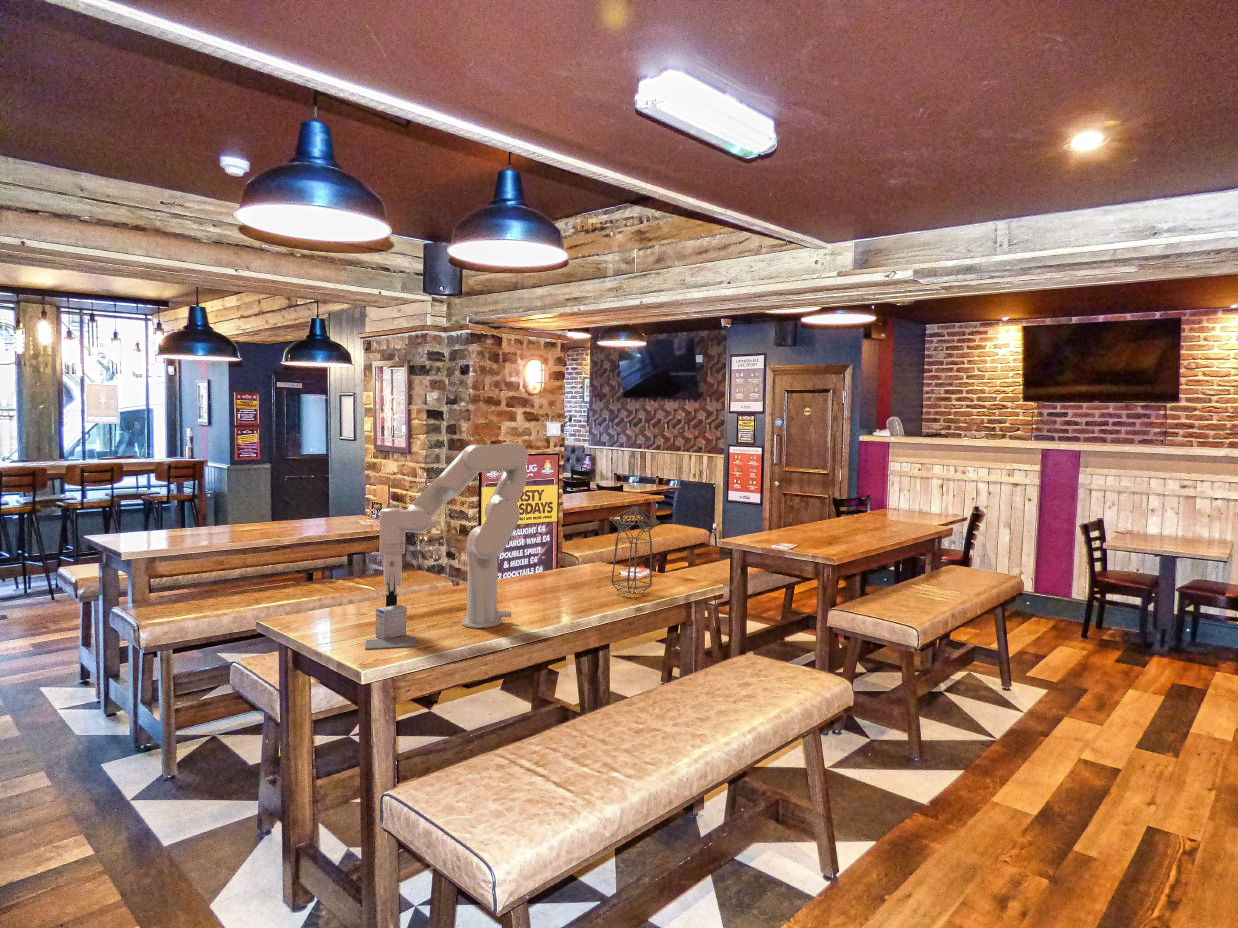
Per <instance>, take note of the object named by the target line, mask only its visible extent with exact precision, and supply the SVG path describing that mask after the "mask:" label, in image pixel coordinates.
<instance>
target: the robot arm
mask: <svg viewBox="0 0 1238 928" xmlns="http://www.w3.org/2000/svg"><path fill="white" fill-rule="evenodd" d="M528 460H529V452H528V449H527V447H525V446H524V444H522V443H520V442H515V441H506V442H503V443H496V444H470V445H469V446H466V447H465V448H464V449H463V450H461V452H460V453H458V455H457V457H455V458H454V460H453V461H452V462H451V463H450V464H449V465H448V466H447V467H446V468H445V469H444V470H443V472H441V474H439V476H438V477H436V479H434V480H433V482H432V483H431V484H430V485H429V486H428V487H427V488H426V489H424V490H423V491H422V492H421V494H420V495H418V497H417V498H416V499H414V500H413V502H412V503H411V504H410V505H409V506H408V508H407V509H403V508H400V507H387V508H383V509H381V510H380V512H379V545H378V546H379V548H378V549H379V550H378V551H379V553H378V554H379V555H383V557H382V559H383V580H384V581H383V582H384V587H386V594H385V607H389V606H394V605H398V594H397V586H398V587H401V586H402V571H403V570H402V569H403V567H402V566H403V565H402V564H403V563H402V562H403V561H402V559H403V558H402V555H403V554H406V532H409V533H416V534H417V533H424V532H426V531H427V530H429V529H430V528H431V527H432V523H433V518H432V516H433V515H434V514H435V513H436V512H437V511H438V510H439V509H440V508H441V507H442V506H443V505H444V504H446V503H447V502H449V501H451V500H453V499H455V498H457V497H458V496H459V495H460V494H462V492H463V491H464V490H465V489H466V487H468V485H470V483H471V482H472V481H473V480H474V479H475V478H476V477H477V476H478V475H479V473H490V472H492V473H493V472H501V474H500V477H499V480H498V482H497V485H496V487H495V489H494V490H493V492H492V494H491V496H490V498H489V500H488V501H487V503H486V505H485V507H484V517H485V518H486V519H485V521H484V523H483V525H477V526H476V527H474V528H472V529H471V530H470V531H469V533H468V535H467V538H466V553H467V554H466V555H467V582H466V583H467V586H466V587H467V589H466V590H467V592H466V594H467V595H466V598H467V599H466V617H464V618H462V619H461V625H463V626H464V627H466V628H475V629H485V628H487V629H488V628H494V627H498V626H499V625H501V624H502V618H512V611H511V610H508V611H507V610H500V609H499V608H498V573H499V572H498V571H499V569H498V566H499V565H498V564H499V563H498V557H499V556H500V555H501V554H502V553H503V552H504V551H505V548H506V547H507V544H508V543H509V541H510V539H511V538H512V536H513V533H514V531H515V529H516V527H517V525H518V523H519V520H520V514H521V511H520V507H519V506H518V503H519V501H520V499H521V497H522V494H523V493H524V490H525V487H526V484H527V480H528V470H527V469H528V468H527V465H526V464H527V463H528Z"/></svg>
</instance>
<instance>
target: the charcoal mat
mask: <svg viewBox="0 0 1238 928" xmlns="http://www.w3.org/2000/svg"><path fill="white" fill-rule="evenodd" d="M403 647H404V648H415V647H418V644H417V637H416V636H409V637H408V636H407V637H393V638H388V639H380V638H374V639H373V638H371V639H365V647H364V650H366V651H368V650H370V651H371V650H384V649H398V648H399V649H401V648H403Z"/></svg>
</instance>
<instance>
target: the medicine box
mask: <svg viewBox="0 0 1238 928" xmlns="http://www.w3.org/2000/svg"><path fill="white" fill-rule="evenodd" d="M407 615H408V608H407V606H404V605H401V604H397V605H394V606H389V607H386V606H383V607H379V608H378V607H377V608H376V609H375V637H376V638H377V637H378V638H377V639H380V638H381V639H388V638H399V637H401V636H405V635H407V624H408V623H407V620H408V619H407V617H408V616H407Z"/></svg>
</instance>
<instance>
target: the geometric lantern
mask: <svg viewBox="0 0 1238 928" xmlns="http://www.w3.org/2000/svg"><path fill="white" fill-rule="evenodd" d="M633 513H634V514H633ZM622 515H624V516H623V517H622V518H620V519H619V518H618V517H619V516H622ZM633 515H634V516H633ZM647 516H648V517H650V518H651V519H653V520H650V519H649V518H648V517H647ZM608 520H609V521H612V523H613V524H614V525H615V527H617V535H616V539H615V547H614V557H613V566H612V573H611V581H610V583H611V584H612V586H613V587H614V588H615V589H616V592H617V591H618V592H622V593H623V592H627V590H623V589H627V588H628V592H627V594H630V593H631V592H633V593H634V594H636V592H638V593H642V592H641V591H644V592H646V590H648V589H649V588H651V587H653V577H652V576H653V575H652V574H653V573H652V571H653V569H652V567H653V566H652V565H653V564H652V563H653V562H652V561H653V560H652V556H653V555H652V554H653V540H652V536H651V530H653V529H654V528H656V527H657V526H658V525H660V523H661V521H660V520H658V519H656V518H655V517H654V516H653V515H651V514H649V513H648V512H647V511H645V510H643V509H642V508H641V507H639V506H632V507H630V508H628V509H626V510H624V511H622V512H620V513H619V514H616V515H615V516H612V517H611V518H609V519H608ZM632 520H633V522H631V521H632ZM636 520H637V523H636ZM627 521H628V522H627ZM621 524H622V525H621ZM634 525H635V526H637V525H638V526H639V527H640V530H639V532H638V534H637V535H636V536H635V537H634V536H633V534H632V533H631V531H630V528H631V527H633V526H634ZM645 529H646V530H645ZM626 530H627V531H628V532H629V534H630V536H629V535H628V533H627V531H626ZM621 531H623V532H624V533H625V535H626V537H620V533H621ZM647 532H648V537H649V538H648V539H644V538H641V537H642V535H643V534H644V533H647ZM627 539H628V541H625V540H627ZM634 540H635V542H633V541H634ZM639 540H641V541H643V542H638V541H639ZM619 542H622V543H626V544H627V543H628V544H630V545H629V546H630V548H629V549H630V551H629V559H628V568H627V570H628V571H627V577H626V578H624V579H617V580H614V577H615V566H616V558H617V552H618V544H619ZM639 544H649V561H650V562H649V582H647V581H642V580H639V579H637V548H638V545H639ZM633 545H634V568H633V570H634V571H633V578H630V577H631V566H632V565H631V564H632V563H631V562H632V549H633ZM624 581H626V583H627V586H625V585H623V584H622V585H621V584H619V583H618V582H624ZM630 581H632V582H631V584H630ZM637 582H638V583H643V584H646V585H642V586H637ZM633 584H634V586H633ZM617 586H618V587H620V588H617ZM643 588H644V589H643ZM630 589H631V591H630ZM639 589H641V590H639ZM632 590H633V591H632ZM635 590H638V591H635Z"/></svg>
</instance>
